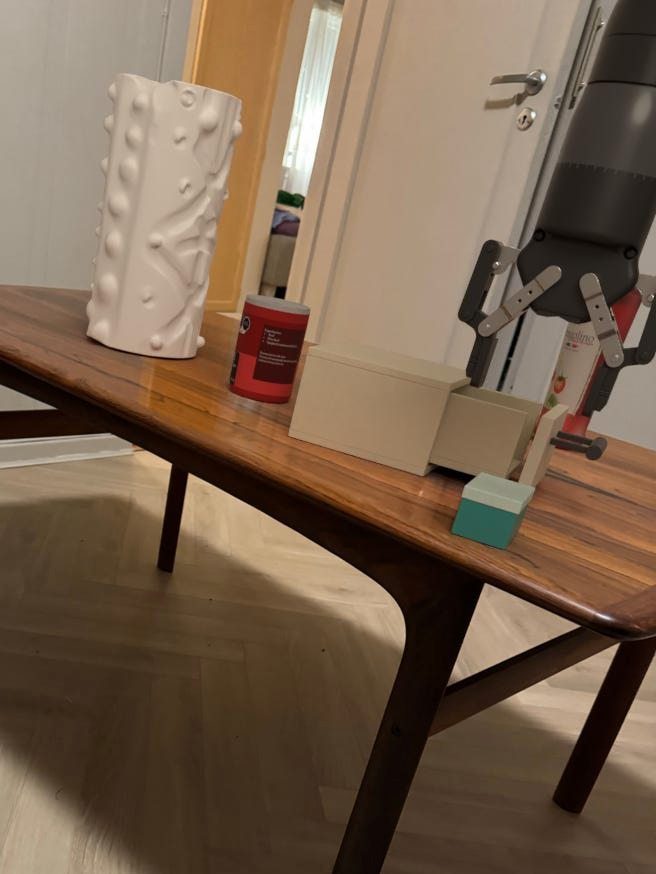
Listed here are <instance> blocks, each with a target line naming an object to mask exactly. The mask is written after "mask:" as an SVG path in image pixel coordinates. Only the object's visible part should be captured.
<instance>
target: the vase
mask: <svg viewBox="0 0 656 874" xmlns="http://www.w3.org/2000/svg"><path fill="white" fill-rule="evenodd" d="M107 95H108V97H109V99H110V101H112V102H113V104H112V105H113V106H112V113H111V114H110V115H108V116H106V117H105V118H104V120H103V122H102V123H103V124H102V125H103V128H104V130H105V131H106V132H107V134H108V135H109V145H108V154H107V157H105V158H103V159H102V161H101V162H100V170H101V172H102V174H103V176H104V178H105V182H104V188H103V197H102V200H101V201H100V202H99V203H97V211H98V212H100V214H101V219H100V225H99V226H96V228H95V235H96V237H97V238H98V244H97V252H96V256H94V257H93V258H92V260H91V263H92V264H93V266H94V277H93V282H92V283H90V285H89V289H90V291H91V298H90V300H89V301H88V303H87V304H86V306H85V307H86V308H85V314H86V316H87V319H88V321H89V322H88V327H87V330H86V336H87V337H89V338H92V339H93V340H95V341H97V342H99V343H100V344H103V345H104V346H106V347H108V348H111V349H115V350H119V351H122V352H123V351H124V352H127V353H131V354H136V355H143V356H148V357H155V358H156V357H157V358H164V359H165V358H167V359H190V358H194V357H195V356H196V355H197V351H198V349H200V348H203V347H204V346H205V343H206V340H205V337H203V336H202V335H201V336H200V332H201V330H202V329H201V328H202V325H203V318H204V313H205V308H206V303H207V302H206V301H207V297H208V291H209V286H210V269H211V267H212V263H213V261H214V258H215V253H216V252H217V249H218V246H217V242H218V226H219V223H220V220H221V218H222V214H223V209H224V202H225V201H227V200H228V199H229V196H230V193H229V189H228V183H229V175H230V170H231V165H232V159H233V157H234V155H235V153H236V148H235V144H236V143H235V142H236V140H238V139H240V138H241V136H242V134H243V125H242V123H241V122H240V121H241V119H242V115H241V112H242V110H243V100H241V99H240V98H238V97H237V96H234V95H233V94H230V93H227V92H224V91H221V90H218V89H214V88H211V87H207V86H203V85H199V84H196V83H191V82H187V81H182V80H176V79H171V80H170V81H166V82H163V83H162V82H159V81H156V80H152V79H148V78H147V77H146V76H145V77H144V76H141V75H138V74H134V73H124V72H123V73H117V74H115V77H114V81H113V83H112V84H110V86H109V87H108V89H107Z"/></svg>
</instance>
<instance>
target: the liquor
mask: <svg viewBox="0 0 656 874" xmlns="http://www.w3.org/2000/svg"><path fill="white" fill-rule="evenodd" d="M641 304H642V292H641V290H640V289H638V288H636V287H635V288H634V289H633V290H632V291H631V292H630V293H629V294H627V295H626V296H625V297H623V298H622V299H621V300H620V301H618V302H617V303H616V304H614V305H613V306H612V311H613V314H614V317H615V320H616V323H617V326H618V330H619V334H620V337H621V340H622V343H623V345H624V344H625V342H626V339H627V338H628V335H629V333H630V331H631V329H632V328H631V327H632V325H633V324H634V321H635V319H636V317H637V314H638V311H639V309H640V307H641ZM604 360H605V358H604V355H603V352H602V349H601V346H600V343H599V340H598V338H597V336H596V333H595V330H594V327H593V324H592V321H591V322H588V323H583V324H575V323H571V322H568V323H567V326H566V329H565V331H564V335H563V339H562V343H561V347H560V349H559V354H558V357H557V361H556V363H555V367H554V370H553V373H552V376H551V379H550V383H549V385H548V389H547V392H546V395H545V398H544V401H543V405H542V408H541V411H540V413H539V416H538V419H537V422H536V425H535V427H534V430H533V433H534V435H535V434H536V431H537V428H538V425H539V422H540V420H541V417H542V416H543V415H544V414H546V413H547V412H548V411H549V410H551V409H552V408H553V407H555V406H556V405H557V404H562V405H566V406H569V407H570V408H569V411H568V413H567V416H566V419H565V422H564V424H563V427H562V430H561V431H563V432H567V433H570V434H574V435H578V436H582V437H585V438H587V437H586V432H587V429H588V428H589V425H590V423H591V419H592V417H593V416H594V413H595V411H594V412H593V414H592V416H591V417H590V418H588V417H584V416H581V412H582V410H583V407H584V404H585V402H586V399H587V396H588V394H589V391H590V389H591V386H592V383H593V381H594V378H595V376H596V373H597V370H598V368H599V366H600V365H602V364H603V363H604ZM558 439H561V440H565V439H562V438H558ZM565 441H568V442H572V443H576V444H579V445H582V444H580V443H577V442H573V441H569V440H565ZM555 449H560V450H568V451H570V450H569V449H566V448H562V447H558V446H555Z"/></svg>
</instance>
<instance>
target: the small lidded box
mask: <svg viewBox="0 0 656 874" xmlns="http://www.w3.org/2000/svg"><path fill="white" fill-rule="evenodd" d="M535 491H536V487H531V486H528V485H524V484H521V483H518V481H515V480H510V479H508V480H507V479H503V478H500V477H497V476H493V475H490V474H486V473H483V472H481V473H480V474H479V475H478V476H474V478H473V479H471V480H470V481H469V482H467V484H465V485H464V486H463V490H462V492H461V496H460V498H461V499H460V503H459V507H458V509H457V512H456V515H455V518H454V521H453V523H452V528H451V530H450V533H451V534H453V535H456V536H458V537H463V538H465V539H469V540H471V541H475V542H478V543H481V544H484V545H488V546H491V547H493V548H497V549H500V550H503V551H505V550H506V549H507V548H508V546H509V545H510V543H511V542H512V541H514V538H515V537H516V536H517V535H518V533H519V531H520V528H521V526H522V523H523V520H524V518H525V515H526V512H527V509H528V507H529V503H530V501H531V500H532V499H533V497H534V494H535Z"/></svg>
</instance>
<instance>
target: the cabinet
mask: <svg viewBox="0 0 656 874" xmlns="http://www.w3.org/2000/svg"><path fill="white" fill-rule="evenodd" d="M304 361H305V362H304V365H303V370H302V374H301V378H300V384H299V386H298V391H297V396H296V400H295V403H294V409H293V412H292V417H291V420H290V425H289V430H288V434H287V437H289V438H293V439H296V440H300V441H302V442H306V443H309V444H313V445H316V446H319V447H323V448H326V449H329V450H333V451H337V452H340V453H343V454H346V455H350V456H354V457H356V458H359V459H363V460H366V461H370V462H373V463H376V464H379V465H383V466H387V467H390V468H393V469H397V470H400V471H403V472H407V473H409V474H413V475H416V476H419V477H424V476H426V475H427V474H429V473H430V472H432V471H433V470H435V469H437V468H438V467H440V465H436V464H433V463H429V460H430V457H431V454H432V451H433V447H434V444H435V441H436V438H437V434H438V431H439V428H440V425H441V421H442V418H443V415H444V412H445V409H446V405H447V402H448V399H449V396H450V392H451V390H454V389H456V388H459V387H461V386H464V385H466V384H470V381H471V378H469V377H466V369H463V368H460V367H455V366H452V365H447V364H444V363H441V362H440V363H439V362H435V361H432V360H428V359H427V360H426V359H423V358H419V357H416V356H413V355H408V354H404V353H400V352H395V351H391V350H387V349H384V348H380V347H376V346H371V345H368V344H364V343H360V342H356V341H353V340H347V341H339V342H332V343H324V344H319V345H318V344H317V345H311V346H308V349H307V353H306V357H305V360H304Z"/></svg>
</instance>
